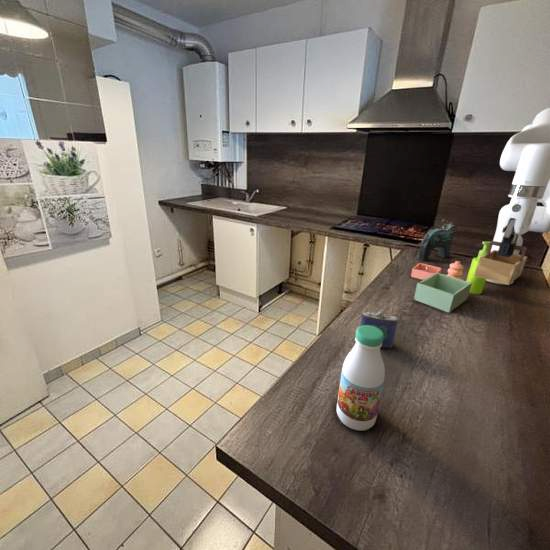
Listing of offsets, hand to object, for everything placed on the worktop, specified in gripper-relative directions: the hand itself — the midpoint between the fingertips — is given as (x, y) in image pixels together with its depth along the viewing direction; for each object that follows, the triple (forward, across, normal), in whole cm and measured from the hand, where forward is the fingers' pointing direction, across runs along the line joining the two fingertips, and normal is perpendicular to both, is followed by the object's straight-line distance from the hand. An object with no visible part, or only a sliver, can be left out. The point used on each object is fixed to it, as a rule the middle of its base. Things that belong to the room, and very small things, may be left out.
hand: (504, 255), depth 87 cm
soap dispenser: (+21, +18, +9) cm, 29 cm away
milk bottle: (+22, -66, +2) cm, 69 cm away
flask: (+22, -42, +14) cm, 49 cm away
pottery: (+21, +18, +23) cm, 36 cm away
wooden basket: (+7, 0, 0) cm, 7 cm away
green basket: (+21, 0, +14) cm, 25 cm away
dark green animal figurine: (+21, +46, +36) cm, 62 cm away
